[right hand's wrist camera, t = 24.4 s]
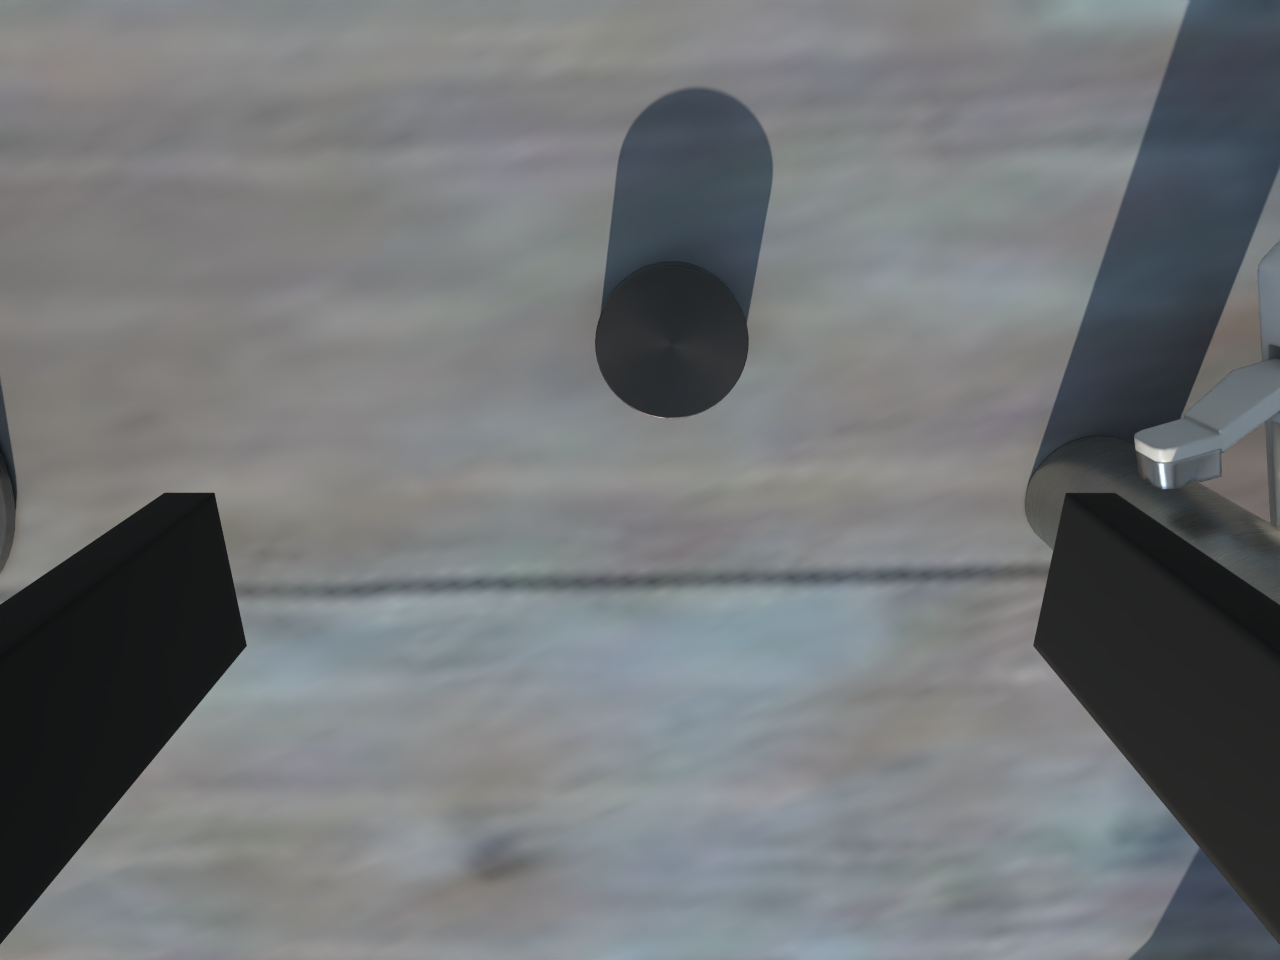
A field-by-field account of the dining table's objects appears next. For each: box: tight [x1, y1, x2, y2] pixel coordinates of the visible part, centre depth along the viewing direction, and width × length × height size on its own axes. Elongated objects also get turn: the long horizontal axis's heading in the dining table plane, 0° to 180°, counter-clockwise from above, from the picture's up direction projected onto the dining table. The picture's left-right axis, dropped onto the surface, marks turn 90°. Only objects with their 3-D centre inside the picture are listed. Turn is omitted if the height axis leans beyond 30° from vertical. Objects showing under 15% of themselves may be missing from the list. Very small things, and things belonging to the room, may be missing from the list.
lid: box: [595, 262, 748, 418], centre depth 31 cm, size 6×6×2 cm
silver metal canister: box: [1025, 436, 1280, 605], centre depth 25 cm, size 5×5×18 cm
